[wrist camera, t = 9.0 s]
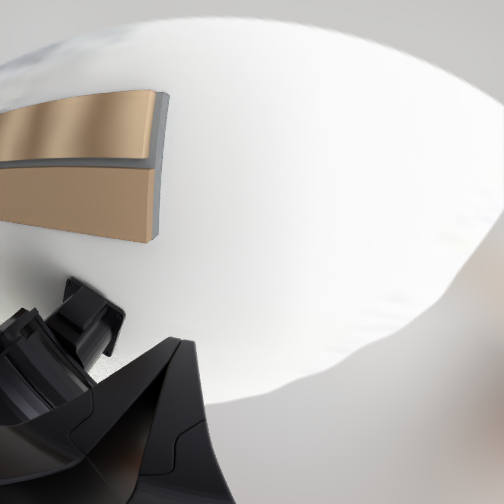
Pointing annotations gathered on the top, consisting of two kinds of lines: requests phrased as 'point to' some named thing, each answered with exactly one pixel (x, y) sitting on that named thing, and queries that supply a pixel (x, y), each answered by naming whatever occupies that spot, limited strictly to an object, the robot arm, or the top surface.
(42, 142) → the plank
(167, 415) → the robot arm
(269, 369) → the top surface
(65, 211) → the floor panel
